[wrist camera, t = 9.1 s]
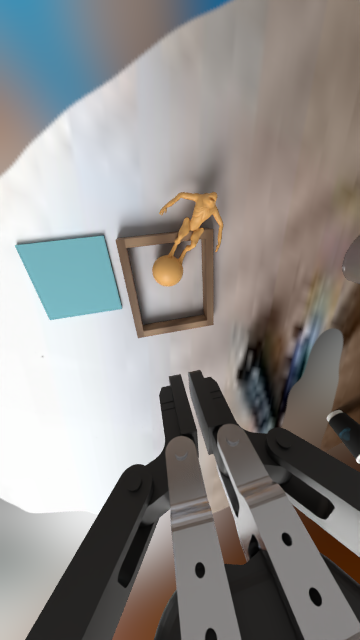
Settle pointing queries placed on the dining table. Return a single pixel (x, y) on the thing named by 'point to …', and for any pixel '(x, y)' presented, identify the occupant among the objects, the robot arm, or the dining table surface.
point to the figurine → (170, 267)
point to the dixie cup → (346, 431)
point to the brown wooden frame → (206, 274)
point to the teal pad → (71, 276)
